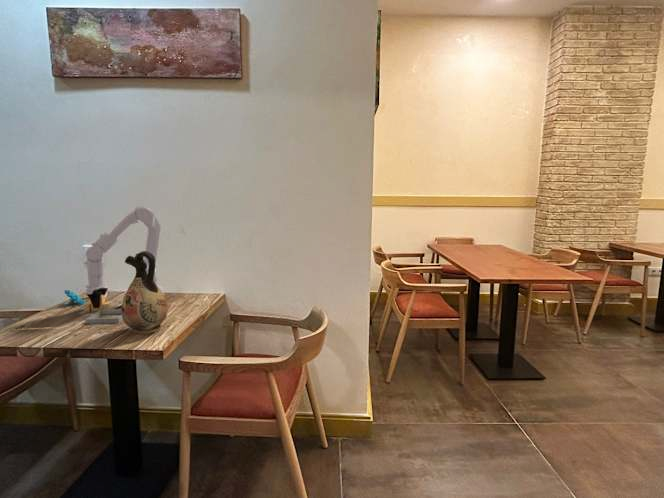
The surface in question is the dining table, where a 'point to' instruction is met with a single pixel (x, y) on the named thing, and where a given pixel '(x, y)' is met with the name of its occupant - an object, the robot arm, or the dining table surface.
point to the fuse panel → (88, 311)
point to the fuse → (102, 301)
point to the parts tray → (94, 319)
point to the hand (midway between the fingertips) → (98, 306)
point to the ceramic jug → (143, 297)
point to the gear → (73, 298)
